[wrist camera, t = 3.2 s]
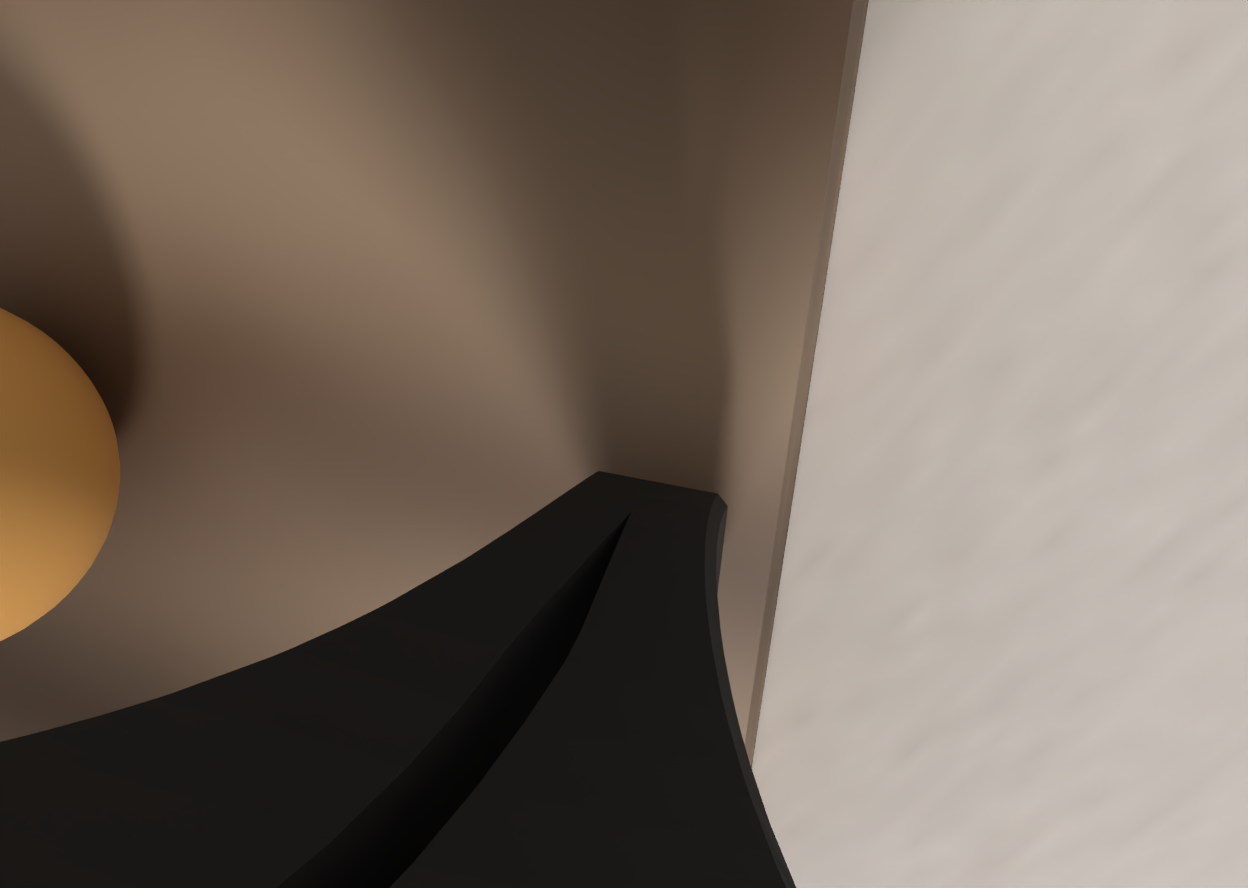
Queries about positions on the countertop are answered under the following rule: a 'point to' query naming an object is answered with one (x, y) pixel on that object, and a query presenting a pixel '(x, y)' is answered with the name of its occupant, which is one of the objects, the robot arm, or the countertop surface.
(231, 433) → the board
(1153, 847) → the countertop surface
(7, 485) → the ball
